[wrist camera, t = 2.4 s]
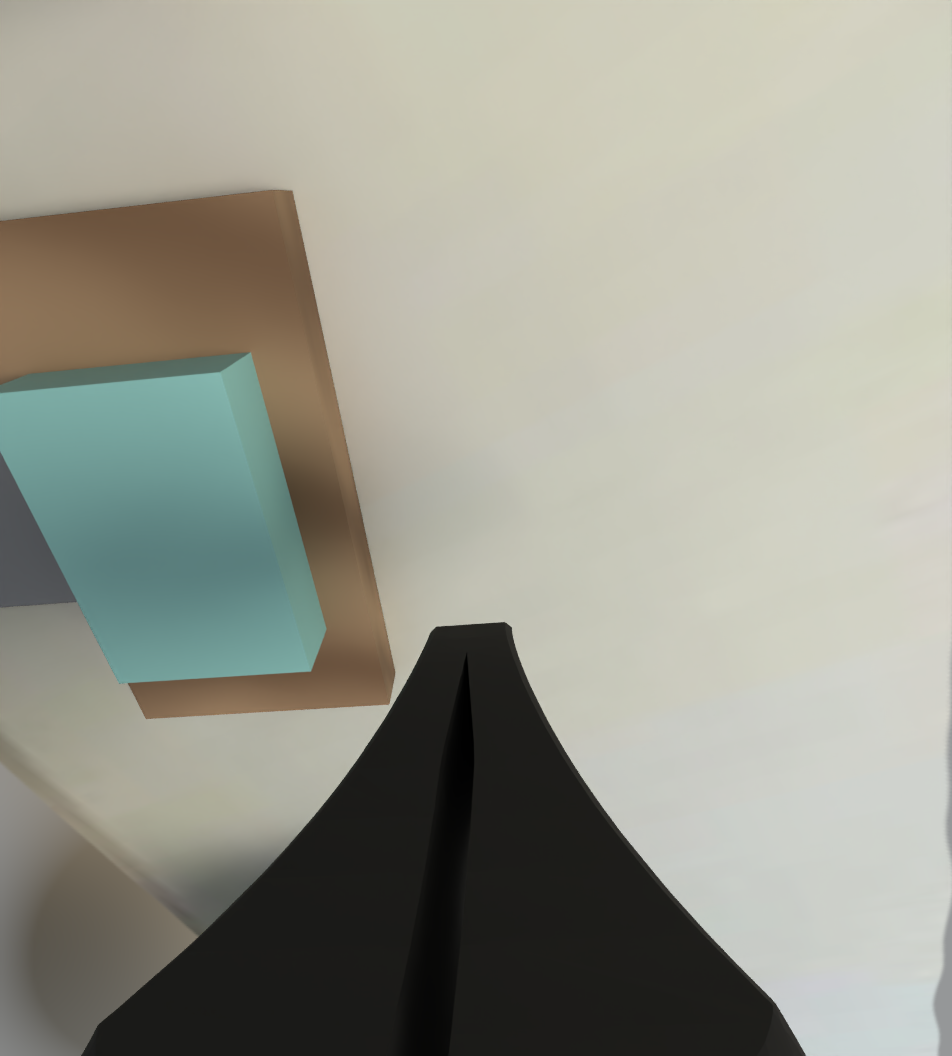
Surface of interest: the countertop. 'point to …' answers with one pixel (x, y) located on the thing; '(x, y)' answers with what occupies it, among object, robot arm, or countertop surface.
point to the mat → (25, 553)
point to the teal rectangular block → (167, 515)
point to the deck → (199, 331)
